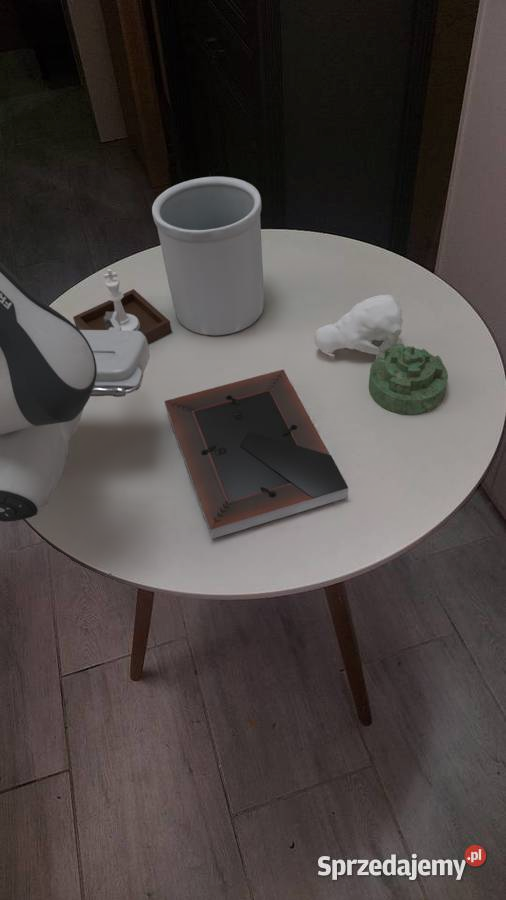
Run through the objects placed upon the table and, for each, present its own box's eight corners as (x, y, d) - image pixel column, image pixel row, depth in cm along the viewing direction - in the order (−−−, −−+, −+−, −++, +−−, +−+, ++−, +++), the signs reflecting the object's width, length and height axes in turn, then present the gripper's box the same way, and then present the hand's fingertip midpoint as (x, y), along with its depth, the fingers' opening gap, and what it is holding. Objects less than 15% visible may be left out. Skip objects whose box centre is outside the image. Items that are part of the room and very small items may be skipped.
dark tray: (110, 363, 98) (107, 352, 96) (76, 327, 104) (72, 316, 102) (172, 332, 102) (170, 321, 100) (136, 299, 108) (133, 288, 106)
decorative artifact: (420, 355, 96) (355, 375, 94) (427, 314, 90) (359, 334, 88) (459, 401, 89) (390, 423, 87) (469, 360, 84) (396, 383, 82)
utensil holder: (151, 308, 106) (130, 204, 93) (224, 268, 112) (213, 164, 99) (212, 352, 98) (198, 245, 85) (286, 306, 104) (284, 199, 91)
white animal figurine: (406, 310, 88) (314, 325, 89) (405, 360, 95) (319, 373, 95) (396, 282, 92) (308, 296, 93) (396, 331, 99) (313, 343, 100)
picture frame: (347, 499, 80) (283, 381, 93) (348, 486, 78) (283, 368, 92) (212, 541, 77) (167, 413, 91) (209, 528, 75) (164, 399, 89)
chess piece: (106, 319, 104) (91, 262, 96) (138, 314, 104) (126, 257, 97) (107, 340, 100) (92, 283, 93) (141, 334, 101) (128, 277, 93)
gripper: (132, 374, 72) (155, 295, 81) (-53, 370, 74) (-11, 293, 83) (142, 415, 77) (162, 336, 86) (-32, 411, 79) (6, 334, 88)
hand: (76, 315), depth 84 cm, fingers open, 8 cm apart
